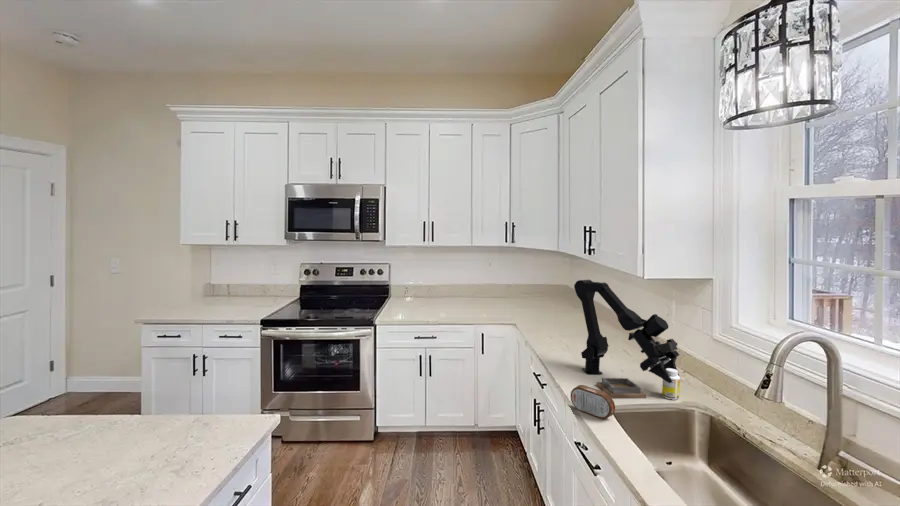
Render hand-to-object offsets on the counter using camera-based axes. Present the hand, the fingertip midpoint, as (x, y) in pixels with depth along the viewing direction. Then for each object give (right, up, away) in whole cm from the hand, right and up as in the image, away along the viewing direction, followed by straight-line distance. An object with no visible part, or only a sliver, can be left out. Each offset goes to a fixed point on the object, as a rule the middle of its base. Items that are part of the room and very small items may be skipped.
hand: (675, 380), depth 160 cm
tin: (-35, -7, -14) cm, 38 cm away
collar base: (-17, -6, +6) cm, 19 cm away
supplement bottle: (-1, -7, +2) cm, 7 cm away
